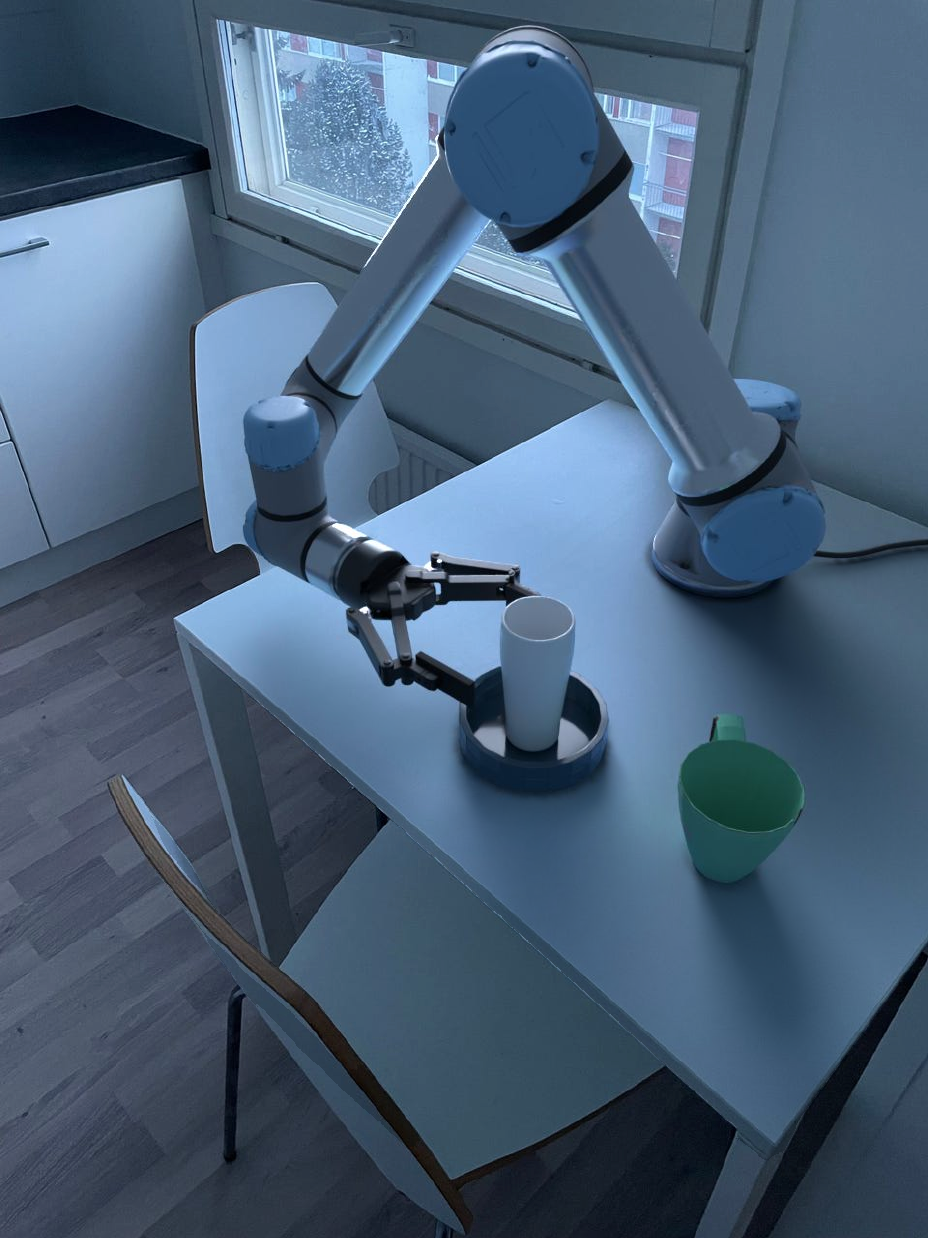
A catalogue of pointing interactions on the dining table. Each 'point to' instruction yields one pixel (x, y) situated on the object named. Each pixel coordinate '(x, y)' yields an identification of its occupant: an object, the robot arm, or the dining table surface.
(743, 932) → the dining table surface
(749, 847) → the mug
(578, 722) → the round dark tray
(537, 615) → the drinking glass
